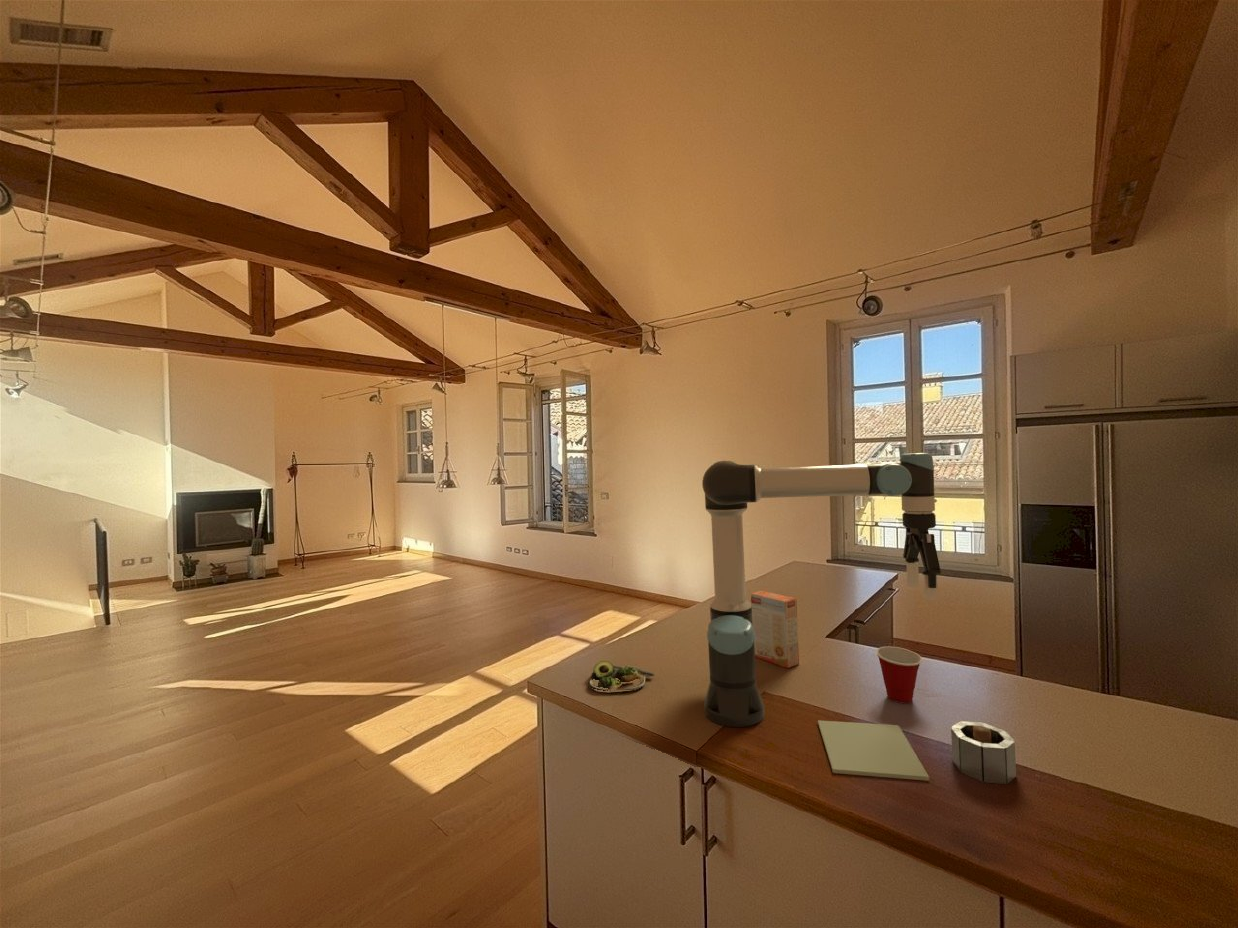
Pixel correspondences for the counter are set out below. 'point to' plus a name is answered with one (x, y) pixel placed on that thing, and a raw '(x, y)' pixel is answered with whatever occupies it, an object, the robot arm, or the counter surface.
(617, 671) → the salad plate
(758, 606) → the cracker box
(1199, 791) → the counter surface
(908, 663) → the plastic cup
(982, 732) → the tan peg with base
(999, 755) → the grey hollow octagonal ring
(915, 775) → the sage mat
